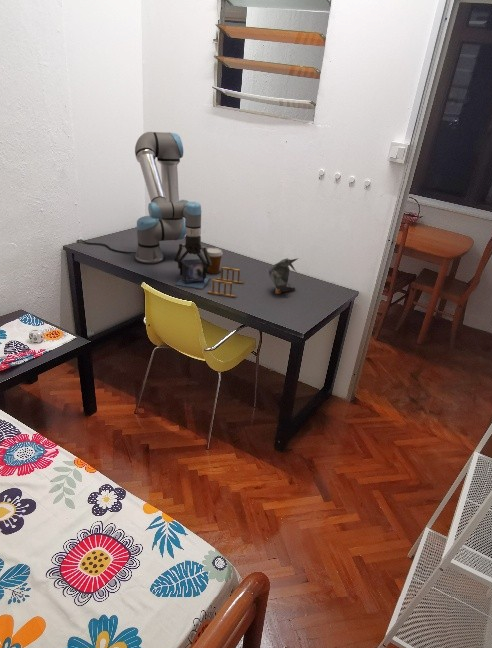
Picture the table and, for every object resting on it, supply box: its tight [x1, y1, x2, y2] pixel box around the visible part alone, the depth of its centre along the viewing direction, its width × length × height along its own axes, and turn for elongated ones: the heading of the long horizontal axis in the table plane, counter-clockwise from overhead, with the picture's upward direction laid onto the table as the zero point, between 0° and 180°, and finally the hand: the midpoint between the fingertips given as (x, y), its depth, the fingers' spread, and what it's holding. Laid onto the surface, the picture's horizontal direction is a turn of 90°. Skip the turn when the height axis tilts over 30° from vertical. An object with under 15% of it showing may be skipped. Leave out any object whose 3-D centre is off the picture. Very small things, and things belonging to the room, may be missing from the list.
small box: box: [180, 258, 204, 283], centre depth 235 cm, size 11×6×10 cm, turn 117°
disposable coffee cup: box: [207, 247, 223, 274], centre depth 249 cm, size 10×10×12 cm
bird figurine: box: [268, 257, 299, 295], centre depth 235 cm, size 14×15×18 cm
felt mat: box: [175, 277, 210, 290], centre depth 238 cm, size 14×14×1 cm
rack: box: [207, 266, 244, 299], centre depth 234 cm, size 14×19×7 cm
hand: (193, 276), depth 236 cm, fingers closed on small box, 12 cm apart
